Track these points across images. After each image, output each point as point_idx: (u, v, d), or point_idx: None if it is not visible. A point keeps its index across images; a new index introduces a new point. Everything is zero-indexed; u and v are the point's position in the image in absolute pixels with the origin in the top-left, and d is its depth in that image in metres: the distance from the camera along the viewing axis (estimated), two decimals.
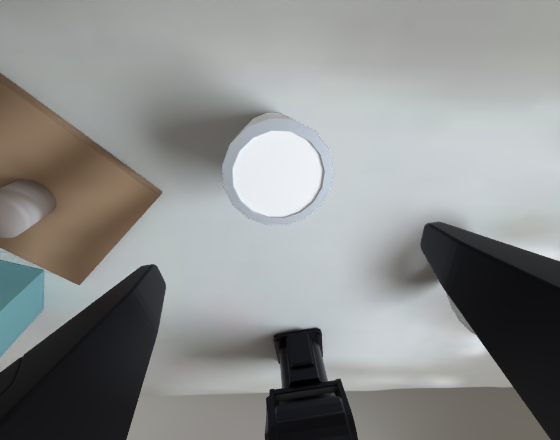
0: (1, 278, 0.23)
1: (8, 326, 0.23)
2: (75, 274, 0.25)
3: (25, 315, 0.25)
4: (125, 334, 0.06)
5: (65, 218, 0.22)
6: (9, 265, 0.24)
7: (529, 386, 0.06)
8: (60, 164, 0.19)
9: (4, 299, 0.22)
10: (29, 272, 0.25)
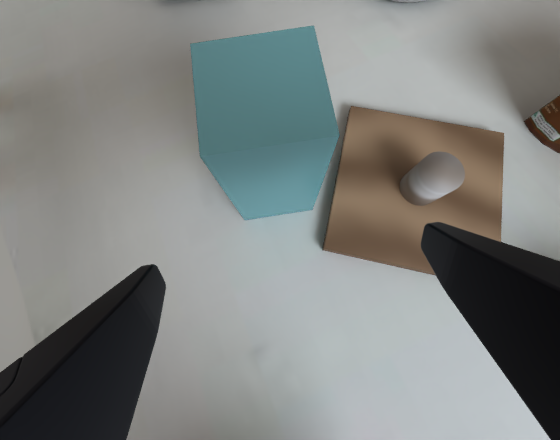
0: None
1: (277, 199, 0.18)
2: (340, 241, 0.21)
3: (266, 208, 0.20)
4: (125, 334, 0.06)
5: (412, 215, 0.21)
6: None
7: (529, 386, 0.06)
8: (468, 200, 0.21)
9: None
10: None
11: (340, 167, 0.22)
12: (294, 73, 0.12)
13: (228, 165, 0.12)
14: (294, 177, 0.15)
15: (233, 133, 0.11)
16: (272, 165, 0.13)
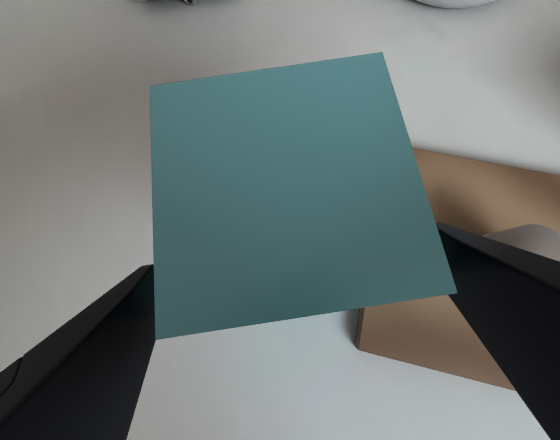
0: None
1: None
2: (380, 339, 0.15)
3: None
4: (125, 334, 0.06)
5: None
6: None
7: (529, 386, 0.06)
8: None
9: None
10: None
11: None
12: (350, 148, 0.06)
13: None
14: None
15: (228, 283, 0.05)
16: None
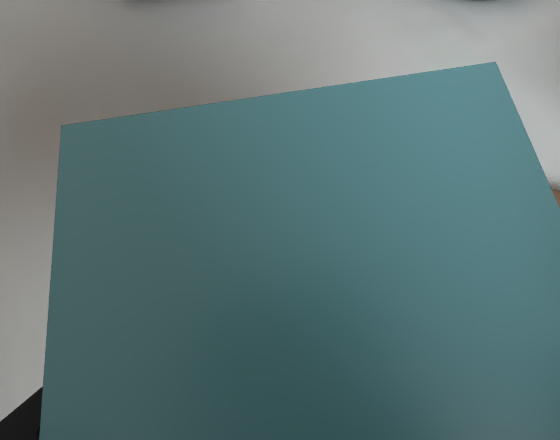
0: None
1: None
2: None
3: None
4: None
5: None
6: None
7: None
8: None
9: None
10: None
11: None
12: (454, 262, 0.03)
13: None
14: None
15: None
16: None
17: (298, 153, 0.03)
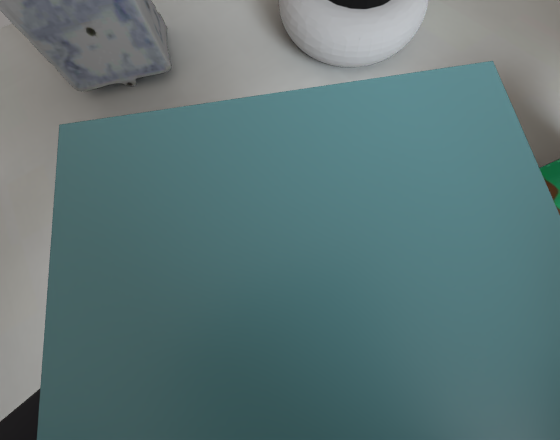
0: None
1: None
2: None
3: None
4: None
5: None
6: None
7: None
8: None
9: None
10: None
11: None
12: (451, 261, 0.03)
13: None
14: None
15: None
16: None
17: (296, 152, 0.03)
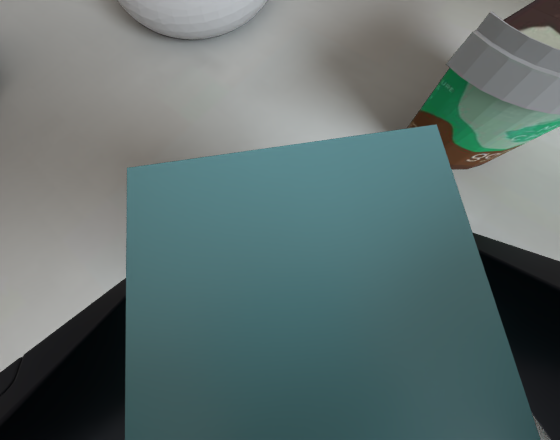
0: None
1: None
2: None
3: None
4: (125, 334, 0.06)
5: None
6: None
7: (529, 386, 0.06)
8: None
9: None
10: None
11: None
12: (398, 268, 0.04)
13: None
14: None
15: None
16: None
17: (294, 190, 0.05)
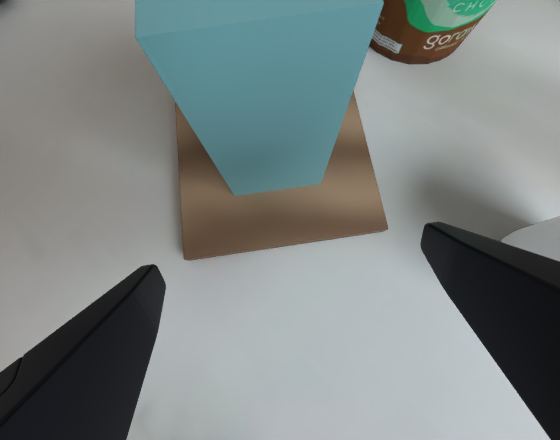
0: None
1: (275, 161, 0.14)
2: (200, 243, 0.17)
3: (261, 177, 0.15)
4: (125, 334, 0.06)
5: None
6: None
7: (529, 386, 0.06)
8: None
9: None
10: None
11: (179, 158, 0.19)
12: None
13: (192, 71, 0.07)
14: (300, 115, 0.10)
15: (196, 1, 0.06)
16: (266, 80, 0.08)
17: None
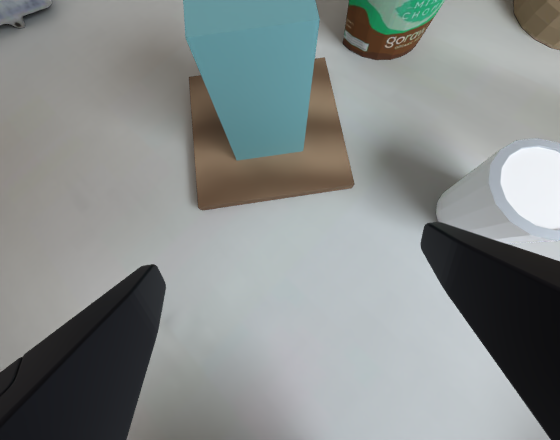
0: None
1: (267, 127, 0.19)
2: (210, 195, 0.22)
3: (257, 142, 0.21)
4: (125, 334, 0.06)
5: None
6: None
7: (529, 386, 0.06)
8: (310, 122, 0.24)
9: None
10: None
11: (193, 132, 0.24)
12: None
13: (214, 57, 0.13)
14: (280, 89, 0.15)
15: (218, 18, 0.12)
16: (257, 64, 0.13)
17: None
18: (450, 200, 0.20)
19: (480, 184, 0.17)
